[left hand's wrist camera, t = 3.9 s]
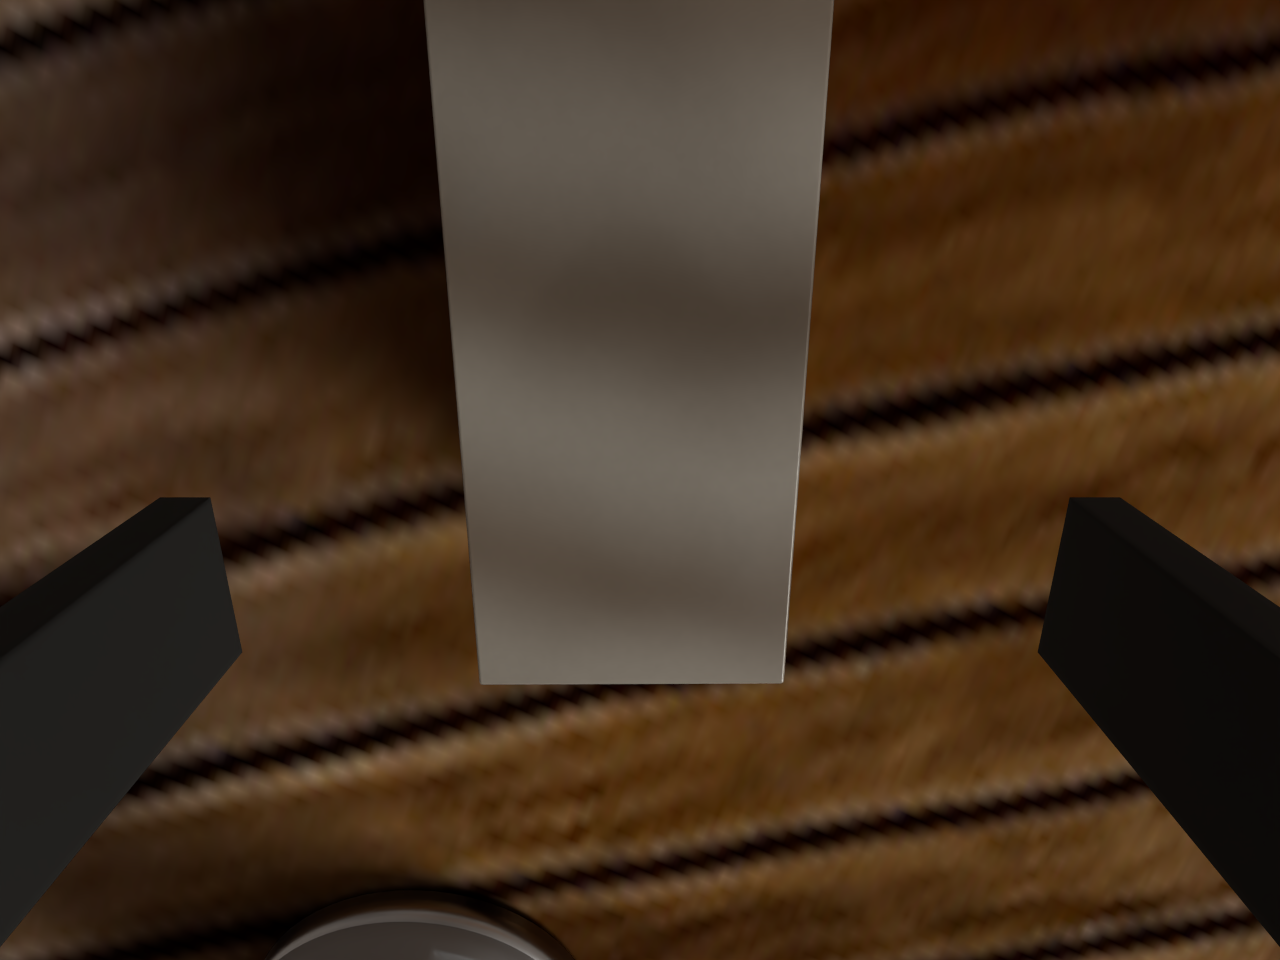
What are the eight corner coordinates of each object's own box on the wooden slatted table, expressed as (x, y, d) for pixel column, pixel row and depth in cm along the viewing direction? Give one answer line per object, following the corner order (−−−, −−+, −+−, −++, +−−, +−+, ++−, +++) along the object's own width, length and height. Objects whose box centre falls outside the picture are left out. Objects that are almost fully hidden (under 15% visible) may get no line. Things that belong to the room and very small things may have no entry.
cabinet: (504, -97, 22) (395, -324, 12) (756, -96, 22) (858, -324, 12) (534, 504, 28) (479, 685, 18) (730, 503, 28) (784, 684, 18)
